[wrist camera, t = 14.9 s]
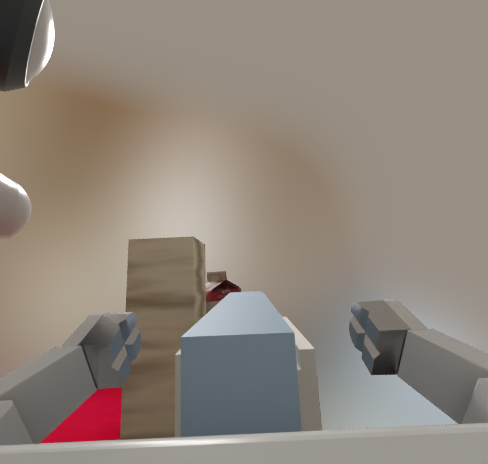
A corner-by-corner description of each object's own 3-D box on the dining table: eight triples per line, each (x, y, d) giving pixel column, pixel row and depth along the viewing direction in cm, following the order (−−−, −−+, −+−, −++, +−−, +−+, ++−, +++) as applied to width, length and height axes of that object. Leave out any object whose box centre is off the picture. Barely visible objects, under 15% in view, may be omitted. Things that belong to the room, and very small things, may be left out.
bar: (304, 464, 8) (294, 332, 8) (180, 468, 8) (180, 337, 8) (263, 324, 29) (261, 291, 30) (231, 326, 29) (229, 292, 30)
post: (194, 483, 25) (193, 236, 30) (118, 486, 25) (128, 239, 30) (207, 433, 33) (205, 244, 37) (149, 435, 33) (154, 247, 38)
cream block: (344, 681, 13) (314, 348, 15) (173, 684, 13) (175, 354, 16) (298, 484, 24) (286, 316, 27) (209, 486, 24) (207, 320, 27)
